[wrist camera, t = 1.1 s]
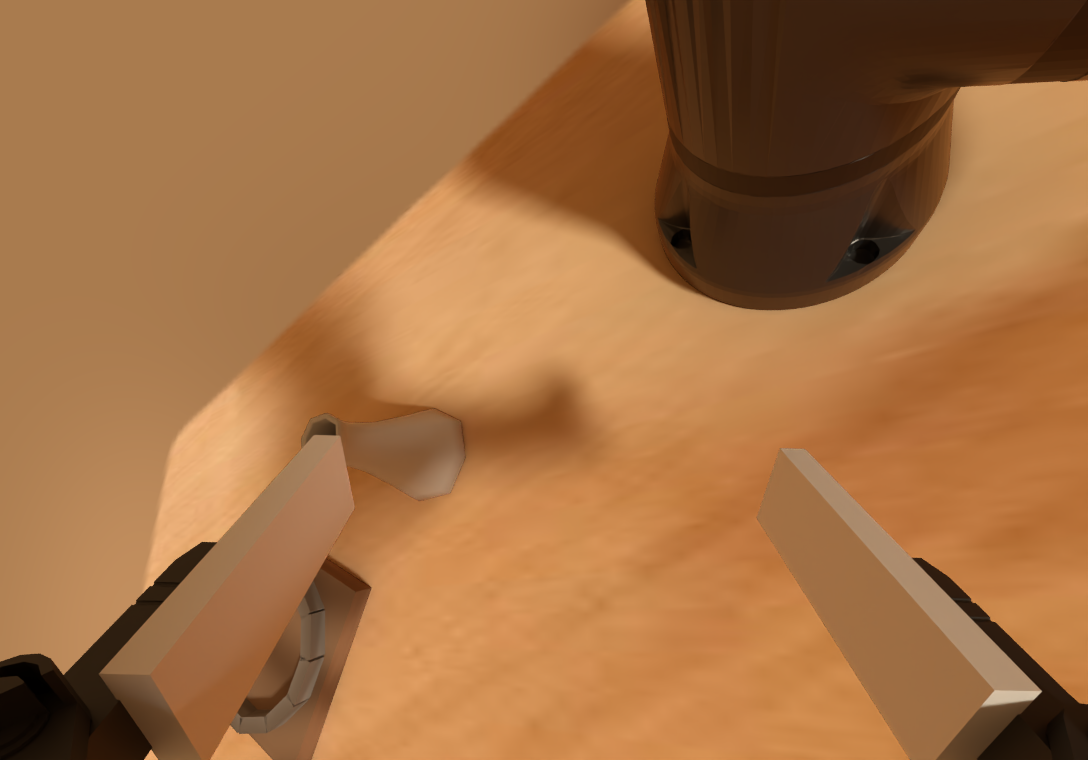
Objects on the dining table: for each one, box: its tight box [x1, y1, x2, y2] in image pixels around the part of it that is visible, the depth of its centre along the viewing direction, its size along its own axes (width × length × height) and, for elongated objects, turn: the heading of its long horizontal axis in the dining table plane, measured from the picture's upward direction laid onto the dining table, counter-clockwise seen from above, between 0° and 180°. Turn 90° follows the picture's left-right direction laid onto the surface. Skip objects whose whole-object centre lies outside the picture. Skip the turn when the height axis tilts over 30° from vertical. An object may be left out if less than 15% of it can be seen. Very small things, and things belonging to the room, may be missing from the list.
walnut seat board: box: [230, 559, 371, 760], centre depth 33 cm, size 13×13×3 cm
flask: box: [301, 408, 465, 501], centre depth 29 cm, size 7×7×10 cm
